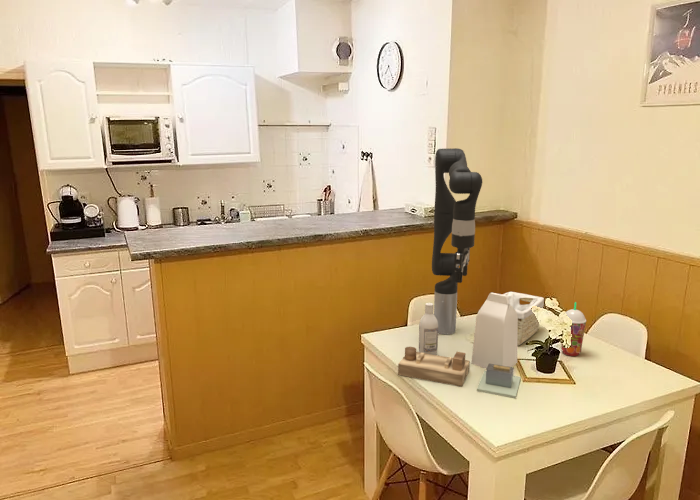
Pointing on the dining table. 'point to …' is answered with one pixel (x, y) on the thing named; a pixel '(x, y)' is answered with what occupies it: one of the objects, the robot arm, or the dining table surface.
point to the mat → (499, 387)
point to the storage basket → (525, 314)
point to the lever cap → (499, 375)
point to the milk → (495, 333)
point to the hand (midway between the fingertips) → (461, 278)
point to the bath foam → (428, 331)
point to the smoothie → (575, 332)
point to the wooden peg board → (434, 367)
